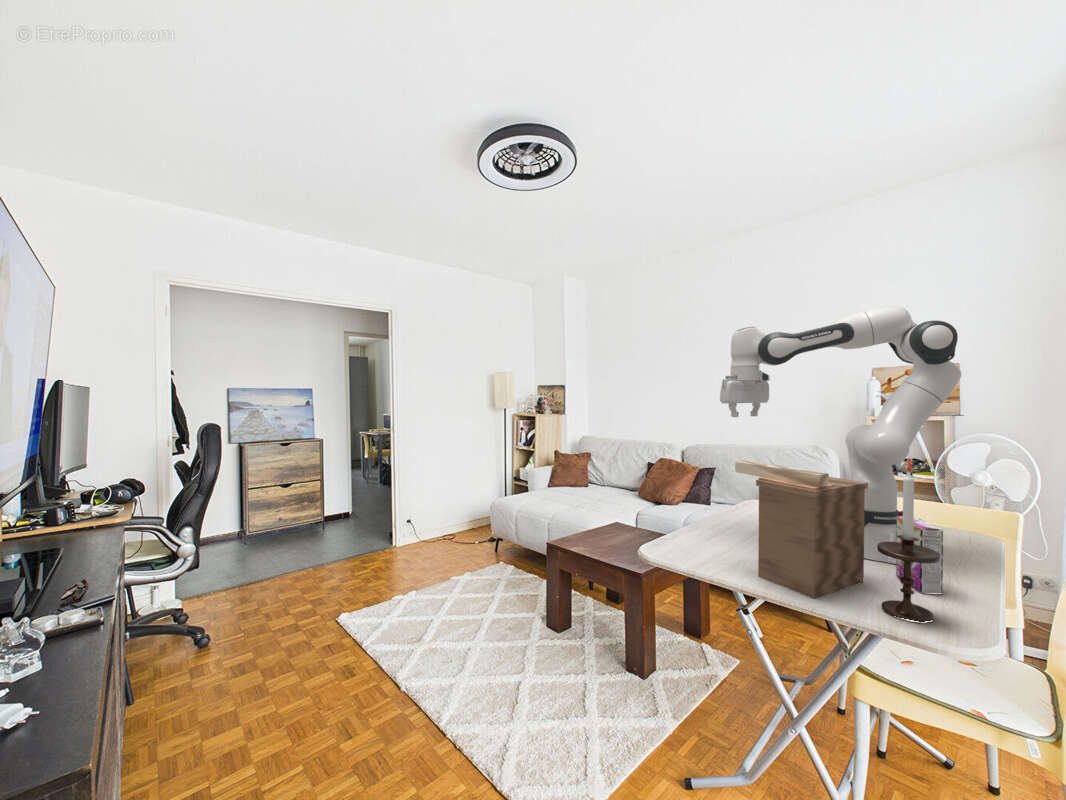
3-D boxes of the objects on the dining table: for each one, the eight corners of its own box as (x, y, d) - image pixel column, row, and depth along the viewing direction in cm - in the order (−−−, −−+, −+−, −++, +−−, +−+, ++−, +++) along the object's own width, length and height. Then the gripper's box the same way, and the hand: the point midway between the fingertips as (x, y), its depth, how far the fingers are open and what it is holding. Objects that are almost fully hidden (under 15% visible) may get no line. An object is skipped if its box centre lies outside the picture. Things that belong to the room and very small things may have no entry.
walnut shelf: (806, 562, 135) (807, 471, 134) (866, 582, 120) (867, 481, 120) (755, 576, 125) (756, 478, 124) (814, 600, 111) (815, 489, 110)
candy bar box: (894, 576, 125) (895, 515, 124) (915, 577, 124) (916, 516, 123) (920, 594, 114) (921, 527, 113) (943, 596, 113) (944, 528, 112)
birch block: (744, 470, 136) (744, 460, 136) (828, 485, 114) (828, 473, 114) (735, 471, 134) (735, 461, 134) (818, 487, 112) (818, 474, 112)
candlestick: (885, 598, 111) (887, 453, 111) (944, 615, 103) (947, 458, 102) (869, 611, 105) (871, 457, 104) (931, 631, 96) (933, 463, 95)
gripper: (730, 375, 149) (730, 418, 149) (773, 375, 158) (772, 416, 159) (715, 375, 155) (715, 417, 155) (756, 376, 164) (756, 415, 164)
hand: (744, 416), depth 157 cm, fingers open, 8 cm apart
